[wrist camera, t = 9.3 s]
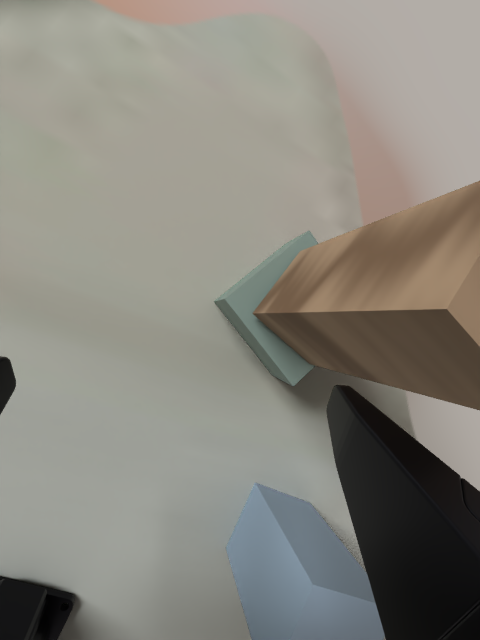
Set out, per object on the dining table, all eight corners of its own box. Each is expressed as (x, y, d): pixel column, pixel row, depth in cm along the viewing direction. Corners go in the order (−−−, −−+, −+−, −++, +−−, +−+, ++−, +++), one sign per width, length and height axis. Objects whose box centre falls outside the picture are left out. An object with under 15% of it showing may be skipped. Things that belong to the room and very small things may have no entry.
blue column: (283, 565, 24) (355, 711, 15) (225, 547, 23) (267, 694, 14) (310, 502, 24) (394, 608, 15) (255, 482, 23) (312, 584, 14)
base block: (271, 374, 23) (293, 386, 20) (213, 301, 22) (224, 299, 18) (335, 316, 25) (368, 316, 21) (284, 244, 24) (309, 230, 20)
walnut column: (309, 364, 20) (552, 430, 8) (252, 313, 18) (446, 309, 7) (351, 303, 21) (621, 287, 9) (300, 251, 19) (539, 157, 8)
